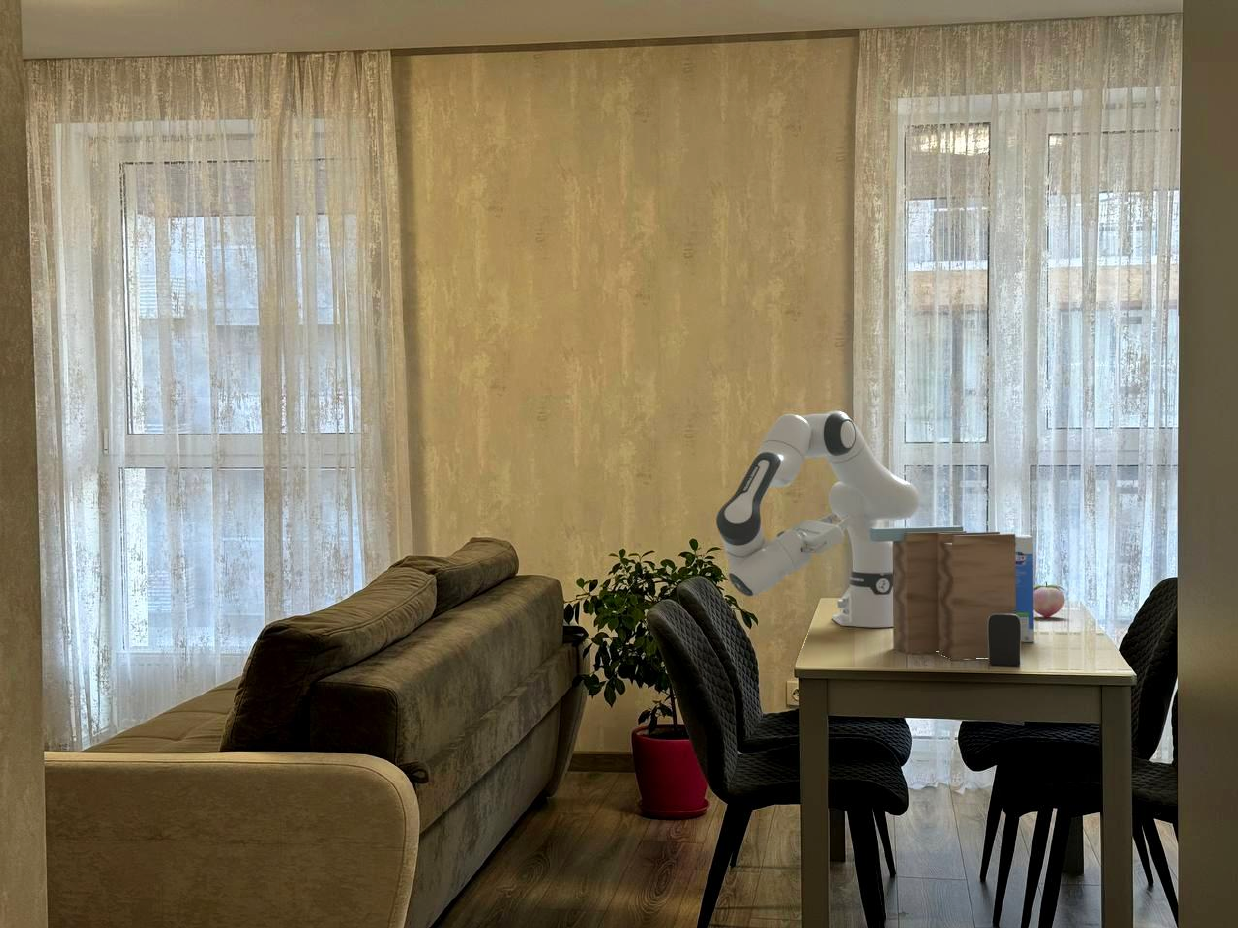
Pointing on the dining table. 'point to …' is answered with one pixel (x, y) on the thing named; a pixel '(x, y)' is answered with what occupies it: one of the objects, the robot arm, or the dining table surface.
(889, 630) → the dining table surface
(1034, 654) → the dining table surface
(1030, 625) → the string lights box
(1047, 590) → the decorative fruit
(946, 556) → the right post
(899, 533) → the batten
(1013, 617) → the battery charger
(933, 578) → the left post
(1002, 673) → the dining table surface
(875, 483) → the robot arm
